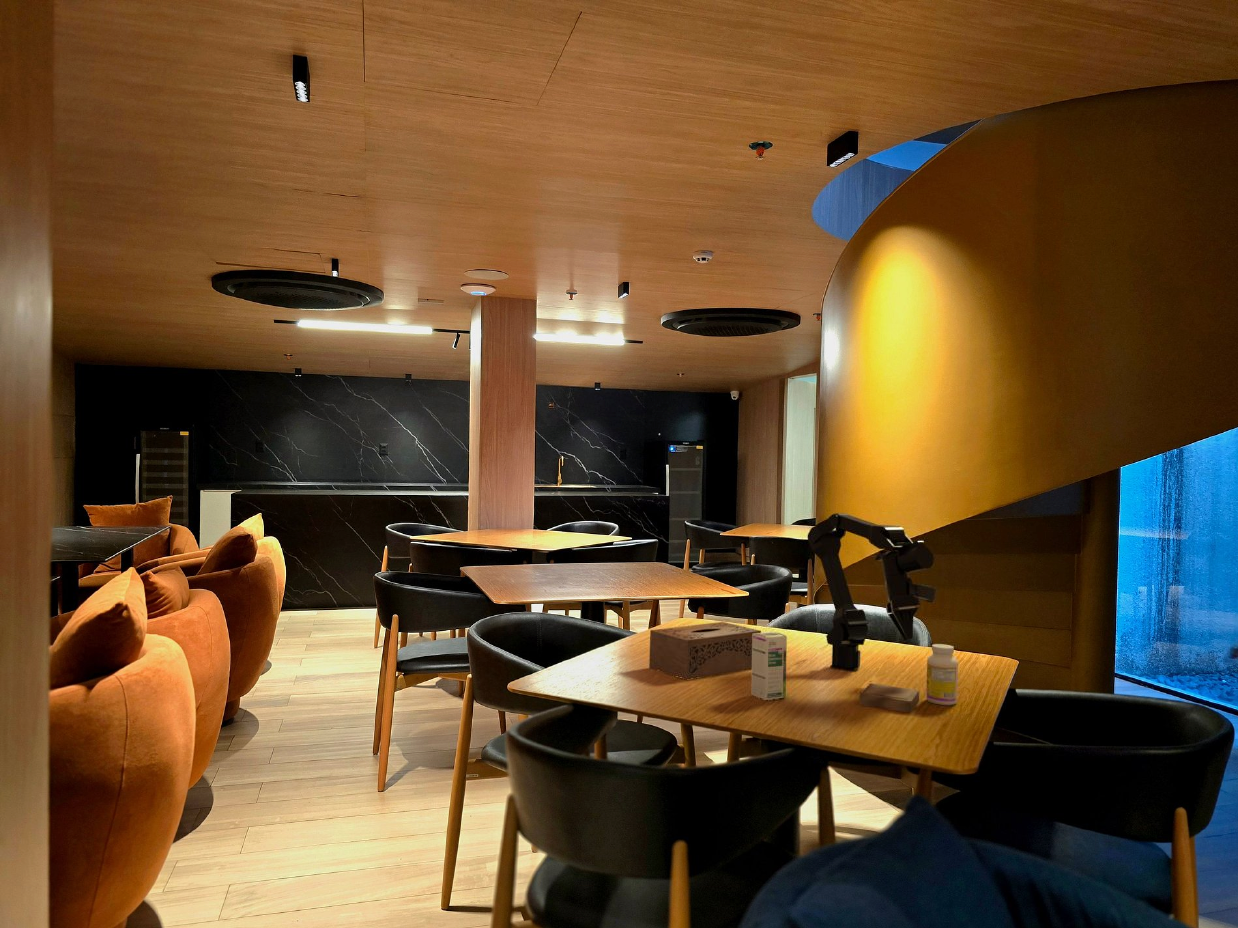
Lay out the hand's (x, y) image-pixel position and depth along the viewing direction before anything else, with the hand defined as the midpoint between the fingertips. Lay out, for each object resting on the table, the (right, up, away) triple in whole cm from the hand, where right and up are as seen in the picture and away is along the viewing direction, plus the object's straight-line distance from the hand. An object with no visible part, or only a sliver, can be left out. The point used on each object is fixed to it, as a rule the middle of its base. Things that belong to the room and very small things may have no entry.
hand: (908, 639), depth 206 cm
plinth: (-9, -11, -14) cm, 20 cm away
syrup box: (-36, -11, -11) cm, 39 cm away
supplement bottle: (+4, -12, -11) cm, 17 cm away
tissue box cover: (-48, -11, +15) cm, 51 cm away
